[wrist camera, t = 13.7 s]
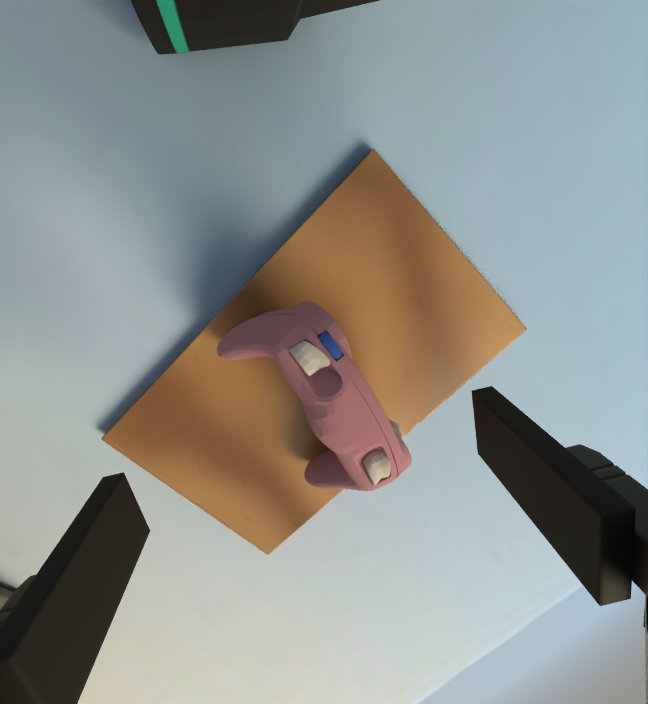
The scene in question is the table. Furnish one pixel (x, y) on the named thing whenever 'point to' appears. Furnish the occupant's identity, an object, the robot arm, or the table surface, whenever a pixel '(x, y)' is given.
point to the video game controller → (326, 395)
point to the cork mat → (365, 343)
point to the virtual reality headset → (226, 21)
